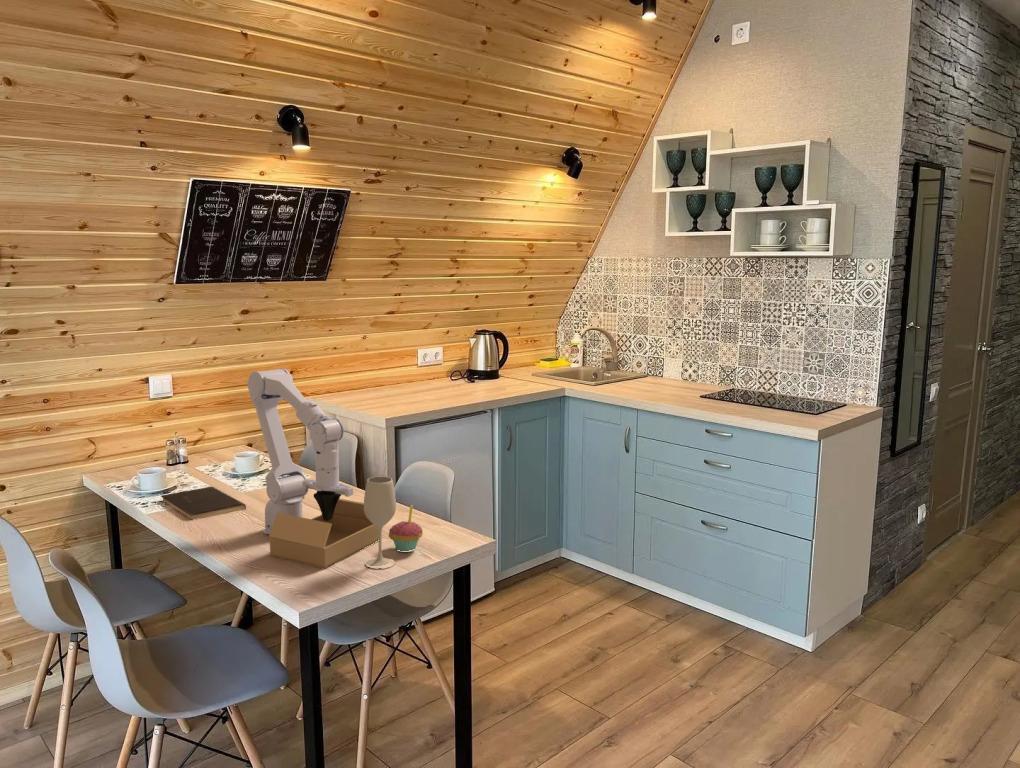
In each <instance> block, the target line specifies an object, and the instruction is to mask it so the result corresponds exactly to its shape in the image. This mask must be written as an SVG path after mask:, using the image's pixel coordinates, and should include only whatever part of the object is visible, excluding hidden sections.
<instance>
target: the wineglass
mask: <svg viewBox="0 0 1020 768" xmlns="http://www.w3.org/2000/svg"><path fill="white" fill-rule="evenodd" d="M363 503H364V513H365V515H366V517H367V518H368V519H369V521H370V522H372V523H373V524H374V525H375V526H377V528H378V532H379V541H378V555H377V557H374V558H375V559H372V558H370V559H371V560H369V559H368V561H367V560H366V561H367V562H366V561H365V562H366V564H367V565H369V566H382V565H386V564H388V563H389V562H390V561H389V560H388V559H386V558H387V557H385V558H383V557H384V556H383V554H382V551H383V550H382V546H383V545H382V542H383V541H382V538H383V537H382V531H383V528H384V527H385V525H387V524H388V523H389V522H390V521H391V520H392V519H393V518H394V516H395V514H396V509H397V508H396V507H397V500H396V492H395V485H394V481H393V478H391V477H389V476H381V475H380V476H379V475H378V476H372V477H369V478H367V480H366V484H365V490H364V498H363Z"/></svg>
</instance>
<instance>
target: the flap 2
mask: <svg viewBox="0 0 1020 768" xmlns="http://www.w3.org/2000/svg"><path fill="white" fill-rule="evenodd" d="M334 513H335V514H340V515H345V516H350V517H355V518H360V519H365V520H369V519H368V518H367V517H366V515H365V513H364V502H361V501H360V502H359V501H355V500H351V499H344V498H341V497H340V498H339V500H338V502H337V504H336V507H335V510H334Z"/></svg>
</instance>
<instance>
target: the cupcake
mask: <svg viewBox="0 0 1020 768" xmlns="http://www.w3.org/2000/svg"><path fill="white" fill-rule="evenodd" d="M413 507H414V506H413V503H411V505H410V506H409V513H408V521H404V520H403V521H400V522H397V523H395V524H394V525H392V526H391V527H390V528H389V532H388V538H389V539H390V540H392V541H393V543H394V546H395V549H397V550H400V551H409V550H413V549H415V550H416V548H417V544H418V542H419V540H420V539H421V538H422V537H423V532H424V531H423V528H422V527H421V525H420V524H418V523H416V522H414V521H412V516H413V515H412V514H413ZM397 550H396V551H397Z"/></svg>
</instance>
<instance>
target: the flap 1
mask: <svg viewBox="0 0 1020 768" xmlns="http://www.w3.org/2000/svg"><path fill="white" fill-rule="evenodd" d="M312 519H313V518H311V519H310V518H307V517H303V516H302V517H297V516H292V515H287V514H282V513H278V512H277V515H276V518H275V521H274V523H273V526H272V529H271V532H270V535H269V534H268V535H269V536H268V537H269V538H270V537H274V538H278V539H283V540H287V541H292V542H296V543H301V544H305V545H310V546H314V547H319V548H323V549H324V548H325V545H326V541H327V538H328V535H329V532H330V529H331V526H332V524H331V523H326V522H321V521H317V520H312Z"/></svg>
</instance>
